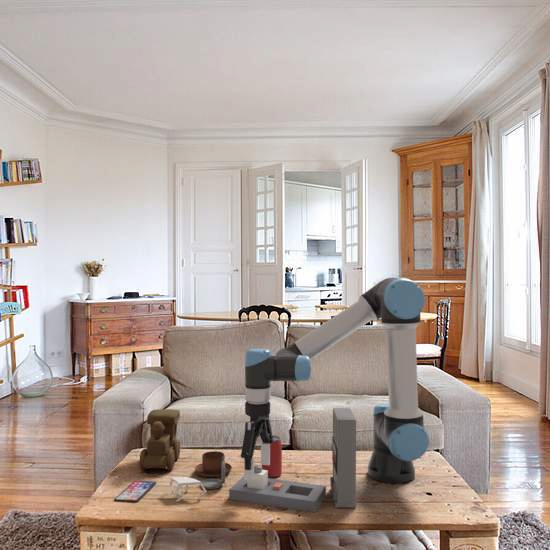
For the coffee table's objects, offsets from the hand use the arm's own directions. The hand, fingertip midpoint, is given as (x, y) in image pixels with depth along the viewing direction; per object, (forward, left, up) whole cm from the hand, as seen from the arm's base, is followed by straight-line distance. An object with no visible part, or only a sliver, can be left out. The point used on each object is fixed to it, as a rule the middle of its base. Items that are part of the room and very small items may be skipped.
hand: (257, 472), depth 168 cm
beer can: (+2, -17, -7) cm, 18 cm away
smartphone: (+35, +10, -7) cm, 38 cm away
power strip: (-6, 0, -7) cm, 9 cm away
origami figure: (+19, +9, -7) cm, 22 cm away
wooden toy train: (+41, -13, -7) cm, 43 cm away
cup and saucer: (+20, -12, -7) cm, 24 cm away
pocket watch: (+15, -2, -7) cm, 16 cm away
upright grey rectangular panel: (-24, -6, -7) cm, 26 cm away
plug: (0, 0, -7) cm, 7 cm away
